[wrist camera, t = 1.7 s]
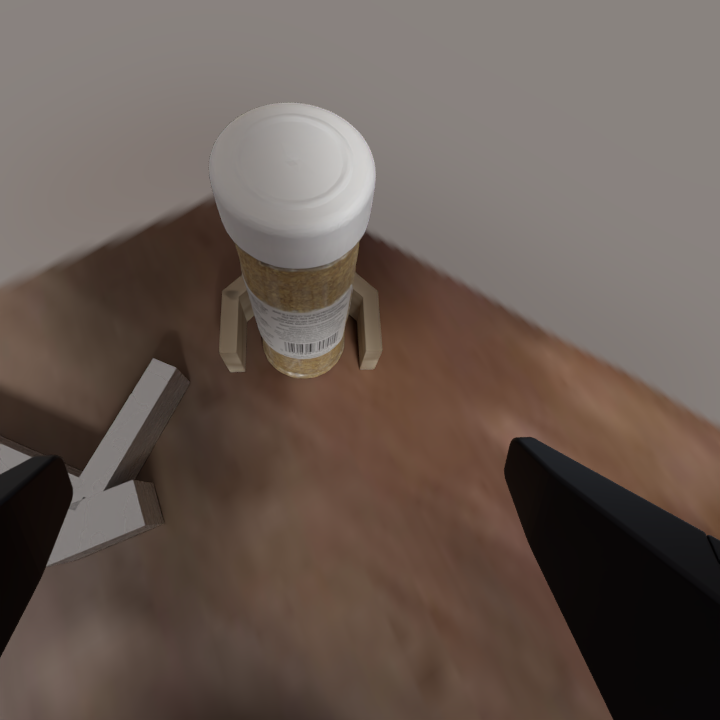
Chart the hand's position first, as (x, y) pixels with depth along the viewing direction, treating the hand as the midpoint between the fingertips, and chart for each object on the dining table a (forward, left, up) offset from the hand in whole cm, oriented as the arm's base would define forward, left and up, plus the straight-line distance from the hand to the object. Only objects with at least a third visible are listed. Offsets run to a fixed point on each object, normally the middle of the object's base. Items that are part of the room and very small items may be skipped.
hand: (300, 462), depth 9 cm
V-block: (-7, +7, -13) cm, 17 cm away
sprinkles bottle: (+4, +7, -14) cm, 16 cm away
